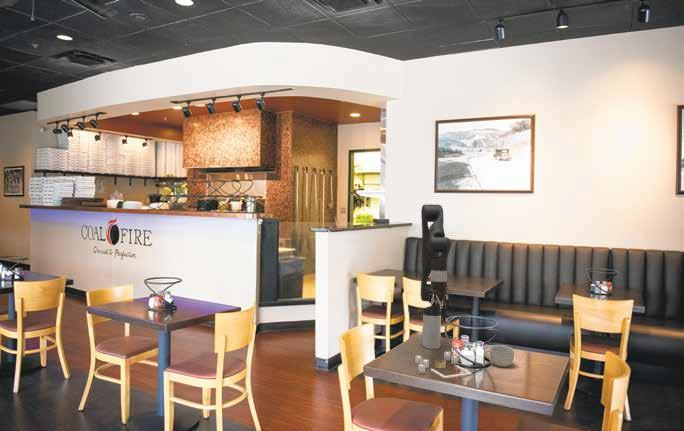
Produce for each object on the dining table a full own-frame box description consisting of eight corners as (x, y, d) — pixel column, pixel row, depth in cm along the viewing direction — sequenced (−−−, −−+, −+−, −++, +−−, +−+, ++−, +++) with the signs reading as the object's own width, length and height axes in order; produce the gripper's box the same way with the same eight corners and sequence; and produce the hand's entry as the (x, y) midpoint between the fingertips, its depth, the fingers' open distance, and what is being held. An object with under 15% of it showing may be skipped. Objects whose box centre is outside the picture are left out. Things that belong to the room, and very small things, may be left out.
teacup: (510, 361, 233) (511, 345, 232) (516, 369, 222) (517, 352, 222) (481, 360, 234) (481, 344, 234) (485, 368, 223) (485, 351, 223)
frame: (430, 370, 220) (430, 368, 220) (457, 366, 225) (457, 365, 225) (444, 378, 209) (444, 377, 209) (471, 374, 215) (472, 373, 215)
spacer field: (404, 364, 227) (404, 356, 227) (455, 358, 237) (455, 350, 237) (420, 374, 214) (420, 366, 214) (473, 367, 224) (473, 358, 224)
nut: (432, 366, 225) (432, 361, 225) (437, 364, 229) (437, 358, 229) (443, 369, 222) (443, 363, 222) (448, 366, 225) (448, 361, 225)
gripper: (454, 281, 221) (454, 317, 221) (437, 277, 234) (436, 310, 235) (440, 282, 218) (440, 318, 218) (423, 277, 231) (423, 312, 232)
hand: (438, 314), depth 226 cm, fingers open, 7 cm apart
